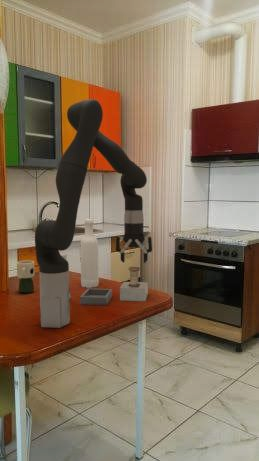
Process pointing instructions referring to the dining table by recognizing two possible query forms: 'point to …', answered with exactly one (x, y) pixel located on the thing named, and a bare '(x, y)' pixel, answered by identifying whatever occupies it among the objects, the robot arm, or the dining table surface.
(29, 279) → the character mug
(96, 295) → the tray
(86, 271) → the bottle
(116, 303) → the dining table surface
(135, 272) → the pin
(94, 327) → the dining table surface
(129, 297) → the hitch block
